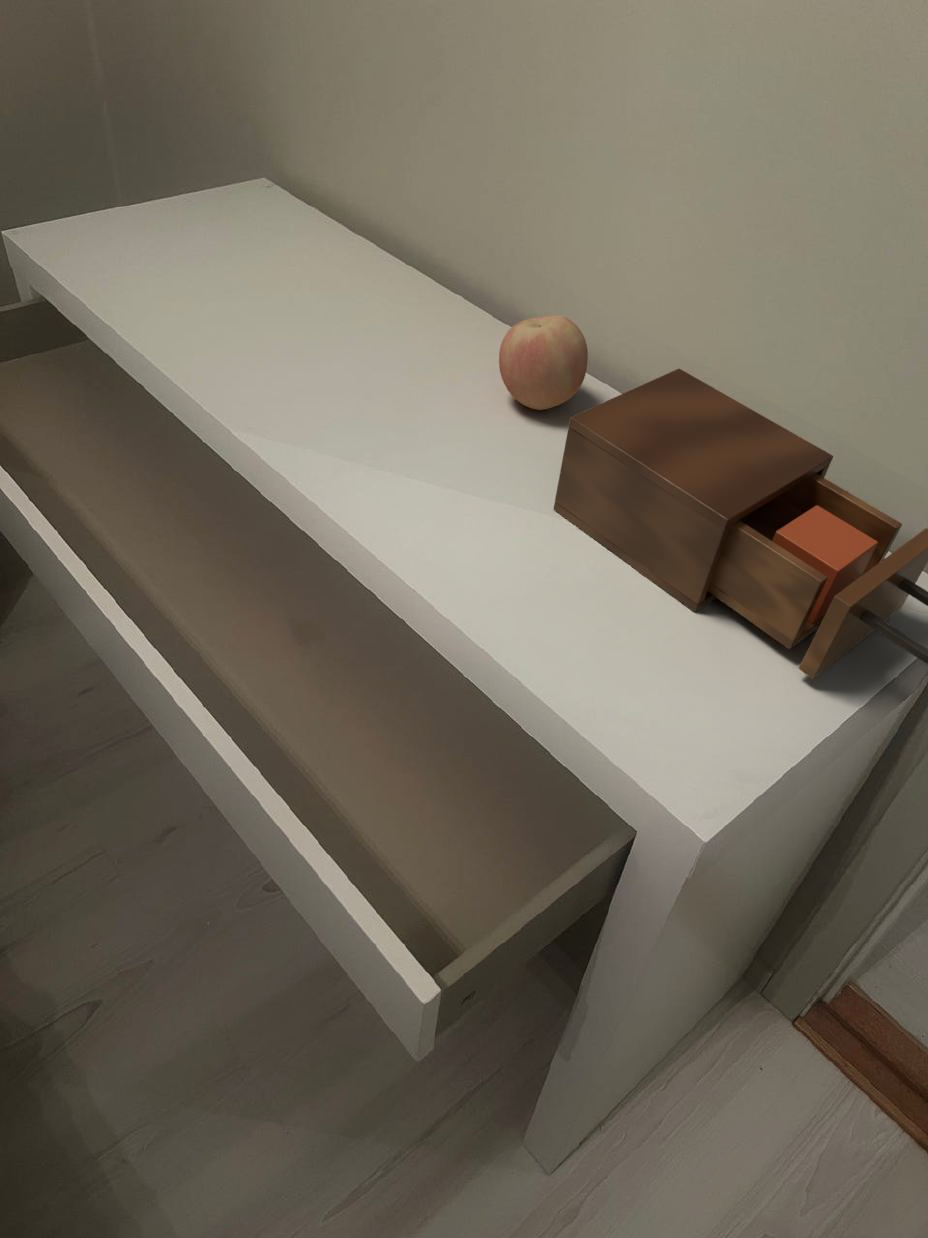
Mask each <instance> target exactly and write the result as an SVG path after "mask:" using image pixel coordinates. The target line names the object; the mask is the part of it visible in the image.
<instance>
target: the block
mask: <svg viewBox="0 0 928 1238" xmlns="http://www.w3.org/2000/svg"><path fill="white" fill-rule="evenodd" d="M772 541H773V542H774V543H776V544H777V545H779V546H780V547H782V548H783V549H785V550H786V551H788V552H790V553H791V554H793V555H794V556H796V557H797V558H799V559H800V560H802V561H803V562H805V563H807V564H808V565H810V566H811V567H813V568H814V569H816V570H817V571H819V572H820V573H822V574H824V575H825V576H827V577H828V579H827V581H826V583H825V585H824V587H823V589H822V591H821V593H820V595H819V598H818V600H817V602H816V604H815V606H814V608H813V610H812V612H811V614H810V616H809V618H808V620H807V621H809V622H810V623H812V624H813V623H815V622H816V621H817V620H819V619H820V618H821V617H823V616H824V615H825V614H826V612H827V610H828V608H829V606H830V604H831V602H832V600H833V598H834V596H835V595H837V594H838V593H839V592H841V591H842V590H843V589H845V588H846V587H848V586H849V585H850V584H852V583H853V582H854V581H856V580H857V579H858V578H860V577H861V575H862V573H863V571H864V569H865V567H866V565H867V564H868V562H869V560H870V558H871V556H872V554H873V552H874V550H875V548H876V546H877V544H878V542H877V541H876V540H874V539H872V538H871V537H869V536H867V535H866V534H864V533H863V532H861V531H859V530H858V529H856V528H854V527H853V526H851V525H849V524H848V523H846V522H844V521H843V520H841V519H839V518H838V517H836V516H834V515H833V514H831V513H829V512H828V511H826V510H824V509H823V508H821V507H819V506H818V505H816V506H815V507H813V508H812V509H810V510H808V511H807V512H805V513H804V514H802V515H801V516H799V517H798V518H796V519H795V520H793V521H791V522H790V523H788V524H787V525H785V526H784V527H782V528H781V529H779V530H778V531H776V533H775V535H774V538H773V540H772Z"/></svg>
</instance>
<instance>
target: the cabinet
mask: <svg viewBox="0 0 928 1238" xmlns="http://www.w3.org/2000/svg"><path fill="white" fill-rule="evenodd" d="M833 458H834V455H832V454H831V453H830V452H827V451H825V450H824V449H822V448H821V447H818V446H816V445H815V444H814V443H811V441H808V440H806V439H805V438H802V437H801V436H799V435H798V434H796V433H793V432H792V431H790V430H789V429H787V428H785V427H783V426H781V425H780V424H778V423H776V422H775V421H773V420H771V419H770V418H768V417H766V416H764V415H762V414H761V413H759V412H757V411H755V410H753V409H752V408H750V407H748V406H746V405H745V404H743V403H741V402H739V401H738V400H735V398H732V397H730V396H729V395H727V394H725V393H723V392H721V391H720V390H718V389H717V388H715V387H713V386H711V385H710V384H707V383H706V382H704V381H702V380H700V379H699V378H697V377H695V376H694V375H692V374H690V373H689V372H686V371H684V370H683V369H681V368H677V369H674V370H672V371H669V372H668V373H665V374H663V375H661V376H659V377H657V378H654V379H652V380H650V381H647V382H646V383H643V384H641V385H639V386H637V387H633V388H632V389H631V390H627V391H625V392H623V393H621V394H619V395H617V396H614V397H612V398H610V399H608V400H606V401H603V402H601V403H599V404H596V405H594V406H593V407H590V408H588V409H586V410H583V411H581V412H578V413H577V414H575V415H573V416H570V418H569V421H568V427H567V433H566V439H565V444H564V449H563V455H562V460H561V465H560V471H559V477H558V481H557V487H556V493H555V499H554V503H553V504H554V505H553V510H554V511H555V512H556V513H558V514H559V515H560V516H561V517H563V518H565V519H566V520H568V521H569V522H570V523H572V524H573V525H575V526H576V527H577V528H578V529H580V530H582V531H583V532H584V533H585V534H587V535H588V536H590V537H591V538H593V539H594V540H595V541H596V542H598V543H599V544H601V545H602V546H603V547H605V548H606V549H607V550H609V551H610V552H612V553H613V554H614V555H615V556H616V557H618V558H619V559H621V560H622V561H623V562H625V563H626V564H628V565H629V566H630V567H632V568H633V569H635V570H636V571H637V572H639V573H640V574H642V575H643V576H644V577H645V578H647V579H648V580H650V581H651V582H652V583H654V584H655V585H657V586H658V587H659V588H661V589H662V590H663V591H665V592H666V593H667V594H669V595H670V596H672V597H673V598H675V599H676V600H677V601H678V602H680V603H681V604H683V605H684V606H685V607H686V608H688V609H689V610H691V611H692V612H693V613H696V612H698V611H699V610H701V609H702V608H704V607H705V606H707V605H708V604H710V603H711V602H713V601H715V600H716V599H717V598H716V597H715V596H714V595H712V594H711V593H709V592H708V588H709V585H710V582H711V580H712V577H713V574H714V571H715V569H716V566H717V563H718V560H719V557H720V555H721V552H722V549H723V546H724V544H725V541H726V538H727V535H728V533H729V530H730V527H731V525H732V524H733V523H735V522H737V521H738V520H740V519H742V518H743V517H745V516H746V515H748V514H750V513H751V512H753V511H755V510H756V509H758V508H760V507H761V506H763V505H765V504H766V503H768V502H769V501H771V500H773V499H774V498H776V497H778V496H779V495H781V494H783V493H784V492H786V491H787V490H789V489H791V488H792V487H794V486H796V485H797V484H799V483H801V482H802V481H804V480H805V479H807V478H809V477H810V476H812V475H814V474H815V473H816V474H818V475H820V476H821V477H823V478H825V477H826V475H827V472H828V470H829V467H830V465H831V463H832V462H833Z"/></svg>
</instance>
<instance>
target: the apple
mask: <svg viewBox="0 0 928 1238" xmlns="http://www.w3.org/2000/svg"><path fill="white" fill-rule="evenodd" d="M588 358H589V353H588V345H587V341H586V338H585V335H584V334H583V332H582V330H581V329H580V327H579V326H577V324H576V323H574V322H573V321H572V320H571V319H570V318H568V317H566V316H563V315H558V314H553V315H546V316H539V317H531V318H526V319H523V320H521V321H520V322H518V323H516V324H514V325H513V326H511V327H510V328H509V329H508V331H507V332H506V333H505V335H504V336H503V338H502V341H501V344H500V346H499V352H498V368H499V374H500V376H501V380H502V382H503V384H504V386H505V388H506V390H507V391H508V393H509V394H510V395H511V396H512V397H513V398H514V399H515V401H517V403H520V404H521V405H523V406H524V407H527V408H530V409H532V410H538V411H542V410H548V409H551V408H554V407H556V406H559V405H562V404H564V403H565V402H567V401H569V400H570V399H571V398H572V397H574V395H576V393H577V392H578V391H579V390H580V388H581V386H582V385H583V383H584V381H585V378H586V373H587V369H588V363H589V362H588V360H589V359H588Z"/></svg>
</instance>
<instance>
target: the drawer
mask: <svg viewBox="0 0 928 1238" xmlns="http://www.w3.org/2000/svg"><path fill="white" fill-rule="evenodd" d="M816 505H818V506H819V507H821V508H823V509H824V510H826V511H828V512H829V513H831V514H833V515H834V516H836V517H838V518H839V519H841V520H843V521H844V522H846V523H848V524H849V525H851V526H853V527H854V528H856V529H858V530H859V531H861V532H863V533H864V534H866V535H867V536H869V537H871V538H872V539H874V540H876V541H877V542H878V544H877V546H876V548H875V550H874V552H873V554H872V556H871V558H870V560H869V562H868V564H867V565H866V567H865V569H864V571H863V573H862V575H861V577H860V578H858V579H857V580H856V581H854V582H853V583H852V584H850V585H849V586H848V587H846V588H845V589H843V590H842V591H841V592H839V593H838V594H837V595H835V596H834V598H833V600H832V602H831V604H830V606H829V608H828V610H827V612H826V614H825V615H824V616H823V617H821V618H820V619H819V620H817V621H816V622H815V623H813V624H812V623H810V622H809V621H807V620H808V618H809V616H810V614H811V612H812V610H813V608H814V606H815V604H816V602H817V600H818V598H819V595H820V593H821V591H822V589H823V587H824V585H825V583H826V581H827V579H828V577H827V576H825V575H824V574H822V573H820V572H819V571H817V570H816V569H814V568H813V567H811V566H810V565H808V564H807V563H805V562H803V561H802V560H800V559H799V558H797V557H796V556H794V555H793V554H791V553H790V552H788V551H786V550H785V549H783V548H782V547H780V546H779V545H777V544H776V543H774V542H773V541H772V540H773V538H774V535H775V533H776V531H778V530H779V529H781V528H782V527H784V526H785V525H787V524H788V523H790V522H791V521H793V520H795V519H796V518H798V517H799V516H801V515H802V514H804V513H805V512H807V511H808V510H810V509H812V508H813V507H815V506H816ZM902 526H903V523H902V522H900V521H898V520H896V518H893V517H891V516H890V515H888V514H886V513H885V512H883V511H882V510H879V509H878V508H877V507H874V506H873V505H871V504H869V503H867V502H866V501H864V500H862V499H861V498H859V497H857V496H855V494H852V493H851V492H849V491H847V490H846V489H844V488H842V487H840V486H839V485H837V484H835V483H834V482H832V481H830V480H829V479H826V478H825V477H824V478H823V477H821V476H820V475H818V474H816V473H815V474H814V475H812V476H810V477H809V478H807V479H805V480H804V481H802V482H801V483H799V484H797V485H796V486H794V487H792V488H791V489H789V490H787V491H786V492H784V493H783V494H781V495H779V496H778V497H776V498H774V499H773V500H771V501H769V502H768V503H766V504H765V505H763V506H761V507H760V508H758V509H756V510H755V511H753V512H751V513H750V514H748V515H746V516H745V517H743V518H742V519H740V520H738V521H737V522H735V523H733V524H732V525H731V527H730V530H729V533H728V535H727V538H726V541H725V544H724V546H723V549H722V552H721V555H720V557H719V560H718V563H717V566H716V569H715V571H714V574H713V577H712V580H711V582H710V585H709V588H708V592H709V593H711V594H712V595H714V596H715V597H716V599H718V600H719V601H720V602H722V603H724V604H725V605H726V606H727V607H729V608H731V609H732V610H733V611H735V612H736V613H738V615H740V616H741V617H743V618H745V619H746V620H747V621H749V622H750V623H752V624H753V625H754V626H755V627H757V628H759V629H760V630H761V631H762V632H764V633H765V634H767V635H768V636H770V637H771V638H773V639H774V640H776V641H777V642H778V643H780V644H781V645H782V646H784V647H785V648H787V649H788V650H791V649H793V647H795V646H796V645H798V644H799V643H800V642H801V641H803V640H804V639H805V638H807V637H808V636H809V635H811V634H812V633H813V632H815V631H816V632H815V634H814V636H813V638H812V640H811V643H810V644H809V647H808V648H807V651H806V652H805V655H804V656H803V658H802V660H801V663H799V664H800V665H799V667H798V670H799V671H801V672H802V673H804V674H805V675H806V676H808V677H809V678H811V680H814V679H815V678H817V677H818V676H819V675H820V674H822V673H823V672H824V671H825V670H827V669H829V667H830V666H831V665H833V664H834V663H835V662H836V661H838V660H839V659H840V658H841V657H843V656H844V655H845V654H846V653H848V651H850V650H851V649H852V648H854V647H856V645H857V644H859V643H860V642H861V641H862V640H864V639H865V638H866V637H867V636H868V635H870V634H871V633H873V631H876V632H878V633H880V635H883V636H884V637H886V638H887V639H888V640H890V641H892V642H893V643H894V644H896V645H898V646H899V647H901V649H904V650H905V651H907V652H908V653H910V654H911V655H913V656H914V657H915V658H917V659H919V660H920V661H922V662H924V664H926V665H928V647H926V646H924V645H923V644H921V643H920V642H918V641H917V640H915V639H914V638H912V637H910V636H909V635H907V634H906V633H904V632H903V631H901V630H900V629H898V628H897V627H895V626H893V625H891V624H890V623H889V622H888V621H887V620H889V619H890V618H891V617H892V616H893V615H895V614H896V613H898V612H899V610H901V609H902V608H903V606H904V604H905V602H906V601H907V599H908V597H909V596H910V597H912V598H914V599H916V600H917V601H918V602H920V603H922V604H923V605H925V606H927V607H928V590H927V589H924V588H923V587H921V586H919V585H918V584H916V583H917V582H918V580H919V578H920V576H921V574H923V571H924V569H925V567H926V566H927V564H928V527H925V528H924V529H922V530H921V531H920V532H919V533H917V534H916V535H915V536H913V537H912V538H911V539H909V540H908V541H907V542H905V543H904V544H903V545H901V546H900V547H899V548H897V549H896V550H895V551H893V552H891V554H889V555H888V552H889V550H890V548H891V547H892V545H893V543H894V541H895V539H896V537H897V536H898V534H899V532H900V530H901V528H902ZM887 555H888V556H887ZM886 556H887V557H886Z"/></svg>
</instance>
